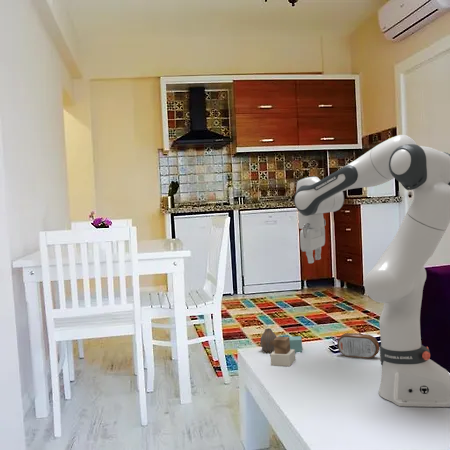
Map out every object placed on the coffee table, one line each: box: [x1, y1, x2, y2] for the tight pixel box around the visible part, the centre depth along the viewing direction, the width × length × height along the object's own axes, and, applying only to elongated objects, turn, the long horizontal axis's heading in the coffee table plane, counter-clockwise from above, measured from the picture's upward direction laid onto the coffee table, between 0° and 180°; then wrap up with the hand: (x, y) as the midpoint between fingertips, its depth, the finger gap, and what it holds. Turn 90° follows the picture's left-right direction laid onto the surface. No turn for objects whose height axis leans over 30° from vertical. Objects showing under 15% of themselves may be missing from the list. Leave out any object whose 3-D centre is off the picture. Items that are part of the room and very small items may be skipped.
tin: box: [336, 332, 380, 359], centre depth 185 cm, size 15×3×8 cm, turn 58°
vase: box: [259, 328, 278, 353], centre depth 201 cm, size 7×7×9 cm
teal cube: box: [288, 335, 303, 354], centre depth 199 cm, size 5×5×5 cm
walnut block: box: [274, 336, 290, 354], centre depth 185 cm, size 4×4×5 cm
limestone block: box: [269, 349, 296, 367], centre depth 186 cm, size 7×7×4 cm
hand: (314, 261), depth 182 cm, fingers open, 8 cm apart
